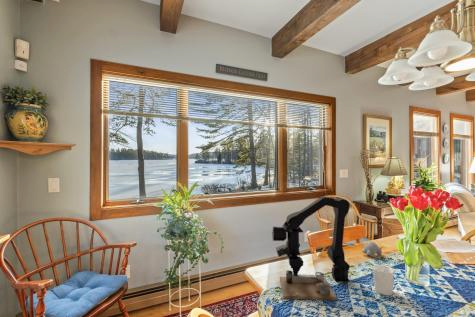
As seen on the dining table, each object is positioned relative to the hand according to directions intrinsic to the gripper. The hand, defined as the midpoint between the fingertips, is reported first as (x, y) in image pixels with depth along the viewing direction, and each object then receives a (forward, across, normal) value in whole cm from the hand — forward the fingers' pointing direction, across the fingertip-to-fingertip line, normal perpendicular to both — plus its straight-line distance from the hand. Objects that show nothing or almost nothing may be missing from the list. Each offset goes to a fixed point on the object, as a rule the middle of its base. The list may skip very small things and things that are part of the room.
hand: (293, 272), depth 114 cm
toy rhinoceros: (+3, -30, +53) cm, 61 cm away
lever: (+1, +6, +4) cm, 8 cm away
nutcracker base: (+3, +9, +4) cm, 11 cm away
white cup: (+3, +9, +38) cm, 39 cm away
